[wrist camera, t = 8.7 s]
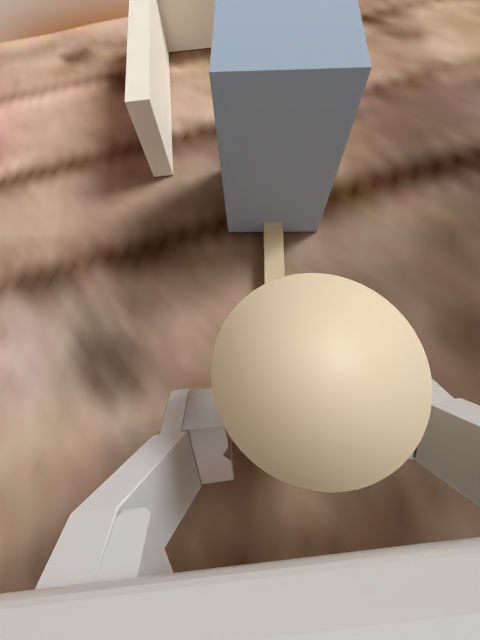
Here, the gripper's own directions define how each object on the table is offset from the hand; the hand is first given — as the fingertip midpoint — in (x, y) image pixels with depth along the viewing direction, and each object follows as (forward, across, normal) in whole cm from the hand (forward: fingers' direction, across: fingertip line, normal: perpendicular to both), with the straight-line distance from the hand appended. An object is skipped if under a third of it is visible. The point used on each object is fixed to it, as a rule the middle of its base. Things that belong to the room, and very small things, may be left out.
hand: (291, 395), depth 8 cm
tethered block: (+8, +1, +1) cm, 8 cm away
